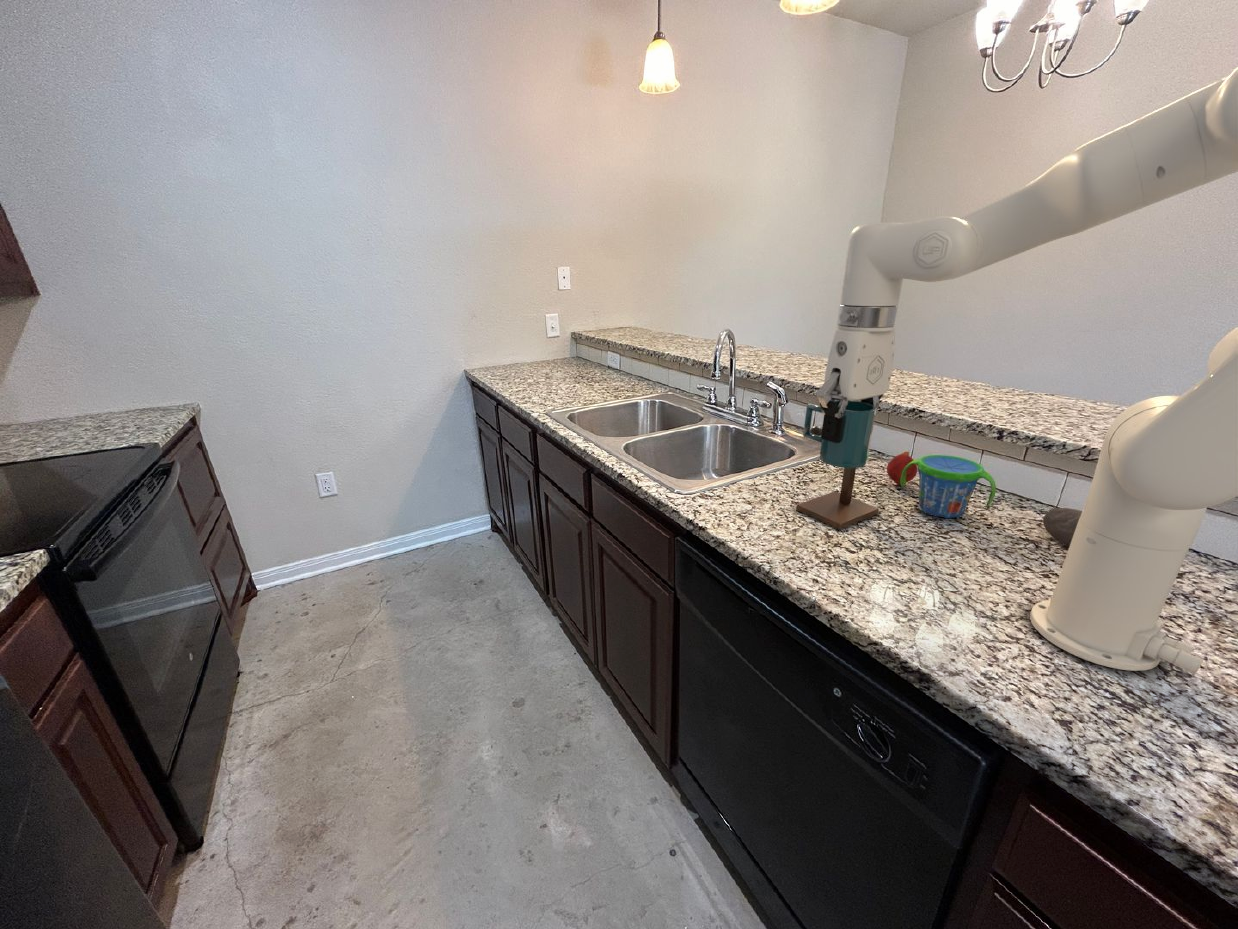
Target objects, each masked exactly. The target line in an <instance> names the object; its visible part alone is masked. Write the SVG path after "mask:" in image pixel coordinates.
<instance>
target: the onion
mask: <svg viewBox="0 0 1238 929" xmlns="http://www.w3.org/2000/svg"><path fill="white" fill-rule="evenodd" d="M914 460H915V459H914V458H912V457H911V456H910V451H907V450H905V451H903V452H902V453H900V454H897V455H895V456H894V457H892V459H890V461H889V462H888V464H887V465H886V473H887V475H888V477H889V478H890V480H892V481H893V482H894V483H895V484H896V485H898V486H901V483H900V480H901V475H902V472H903V470H904V468H905V467H906V466H907V465H908V464H909V463H910V462H912V461H914ZM917 473H918V466H917V465H916V464H913V465H911V466H910V467H909V468H908V469H907V470H906V483H908V482H911V481H912V480H914V479H915V477H916V476H917Z"/></svg>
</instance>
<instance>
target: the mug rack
mask: <svg viewBox="0 0 1238 929" xmlns="http://www.w3.org/2000/svg"><path fill="white" fill-rule="evenodd" d="M810 433H811V434H815V435H818V436H821V433H822V426H819V425H814V426H811V427H810ZM856 471H857V468H843V474H842V480H841V481H842V482H841V486H840V491H839V492H838V491H836V490H835V491H832V492H829V493H826V494H823V495H820V496H818V497H815V498H812V499H809V500H806V501H803V502H801V503H797V504H796V511H798V512H800V513H801V514H802V513H803V514H804V515H807V516H808V517H811V518H813V519H815V520H817V521H820V522H821V523H824V524H826V525H828V526H830V527H833V528H835V529H837V530H841V529H844V528H847V527H848V526H851V525H854V524H856V523H859V522H861V521H864V520H866V519H868V518H871V517H873V516H875V515H878V514H879V510H880V508H879V507H877V506H874V505H872V504H869V503H866V502H864V501H861V500H859V499H856V498H854V497H852V496H853V492H854V486H855V485H854V483H855V477H856Z"/></svg>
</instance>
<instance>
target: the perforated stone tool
mask: <svg viewBox="0 0 1238 929" xmlns="http://www.w3.org/2000/svg"><path fill="white" fill-rule="evenodd" d="M1082 511H1083V510H1080V509H1075V508H1068V507H1058V508H1057V507H1055V508H1050V510H1049V511H1047V513H1045V514H1044V516H1043V518H1042V523H1043V527H1044V528H1045V530H1046V532H1047V533H1048V534H1049V535H1050V536H1051V537H1052V538H1053V539H1055V540H1056V541H1058V542H1060V543H1063V544H1065V545H1066V547H1067V548H1069V547H1070V544H1071V541H1072V538H1073V535H1074V532H1075V530H1076V527H1077V524H1078V521H1079V518H1080V516H1081V513H1082Z"/></svg>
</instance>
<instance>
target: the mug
mask: <svg viewBox="0 0 1238 929" xmlns="http://www.w3.org/2000/svg"><path fill="white" fill-rule="evenodd" d="M834 402H835V404H836V406H837V407H838V405H839V403H840V401H838V400H835V401H834ZM877 410H878V409H877V408H876V407H875V406H874V405H872V404H869V403H865V402H860V401H849V402H848V404H847V407H846V409H845V411H844V413H843V415H842V417H844V418H845V421H844V427H843V434H842V440H841V442H840V443H834V442H831V441H828V440H824V439H822V438H821V436H818V435H815V434H811V433H810V429H811V428H812V419H813V412H816V413H820V414H822V408H821V406H820V405H818V404H813V403H808V404H807V405H806V410H805V417H804V425H803V431H802V432H803V433H802V436H803V438H804V439H807V440H811V441H813V442H817V443H819V444H820V451H819V460H820V461H821V462H822V463H824V464H826V465H829V466H832V467H836V468H843V469H844V468H856V469H858V468H863V467H865V466H866V465H867V461H868V458H869V454H870V453H869V452H870V448H871V440H872V437H873V436H872V435H873V430H874V426H875V420H876V414H877Z"/></svg>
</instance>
